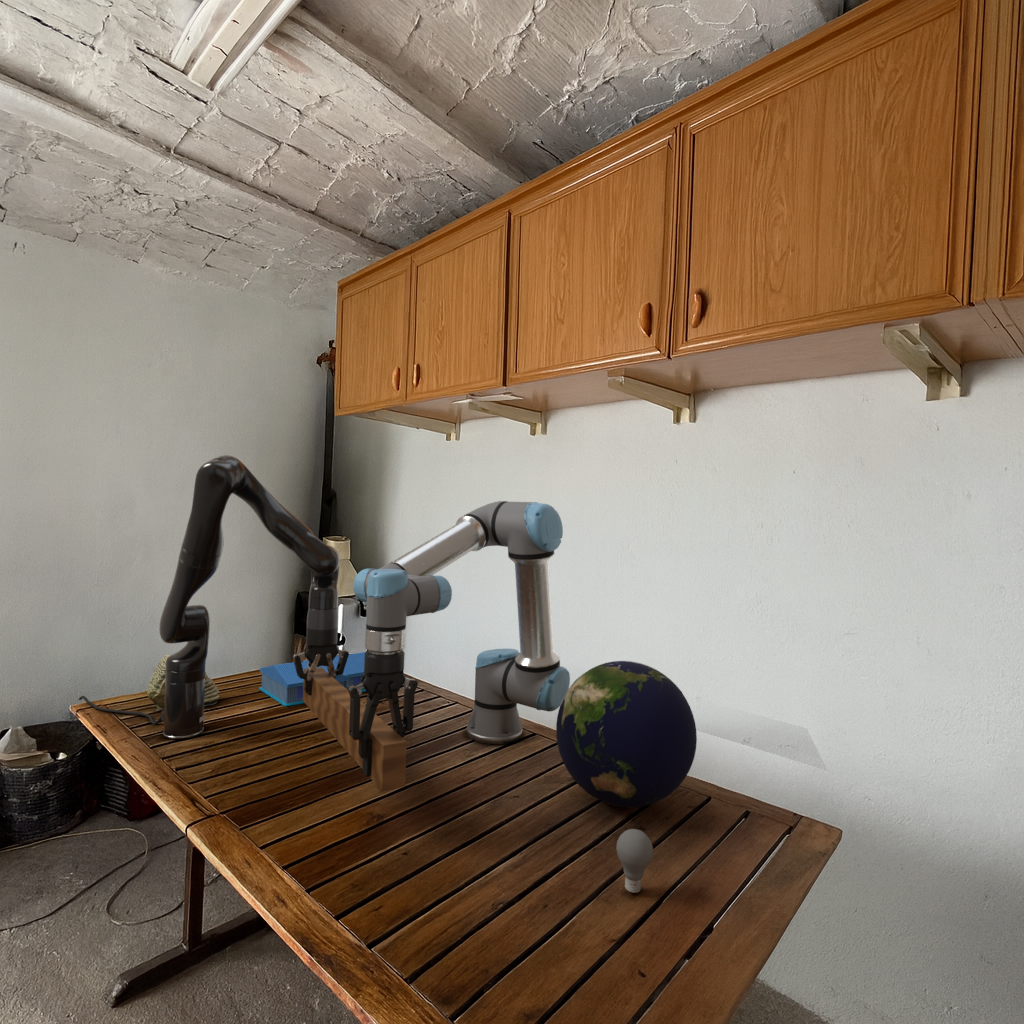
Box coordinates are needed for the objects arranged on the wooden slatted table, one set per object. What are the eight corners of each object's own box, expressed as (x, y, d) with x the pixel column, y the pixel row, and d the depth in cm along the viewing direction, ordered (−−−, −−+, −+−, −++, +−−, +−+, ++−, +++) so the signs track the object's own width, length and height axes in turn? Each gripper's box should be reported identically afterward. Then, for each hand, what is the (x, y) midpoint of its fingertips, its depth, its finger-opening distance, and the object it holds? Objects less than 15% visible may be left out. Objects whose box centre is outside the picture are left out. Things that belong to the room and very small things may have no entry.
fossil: (144, 707, 182) (145, 655, 182) (212, 696, 194) (213, 647, 194) (151, 716, 175) (153, 662, 175) (221, 703, 188) (223, 653, 188)
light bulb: (610, 879, 108) (613, 822, 108) (644, 879, 109) (647, 822, 109) (619, 902, 102) (622, 840, 102) (655, 901, 103) (658, 840, 103)
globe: (533, 814, 130) (540, 669, 129) (575, 761, 157) (580, 641, 157) (683, 851, 118) (691, 691, 118) (699, 786, 146) (706, 657, 146)
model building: (289, 709, 186) (291, 675, 185) (258, 688, 204) (259, 657, 204) (403, 687, 212) (405, 657, 212) (366, 670, 230) (368, 643, 230)
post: (302, 700, 164) (303, 668, 164) (320, 698, 167) (321, 667, 167) (381, 791, 114) (383, 745, 114) (405, 786, 117) (407, 741, 117)
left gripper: (296, 630, 152) (293, 701, 152) (355, 626, 160) (352, 693, 160) (289, 624, 158) (286, 692, 159) (345, 621, 166) (343, 685, 166)
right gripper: (345, 659, 114) (339, 787, 114) (435, 650, 123) (429, 769, 123) (333, 649, 120) (328, 771, 120) (419, 642, 129) (414, 755, 130)
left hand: (319, 692), depth 159 cm, fingers closed on post, 4 cm apart
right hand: (379, 770), depth 122 cm, fingers closed on post, 5 cm apart
